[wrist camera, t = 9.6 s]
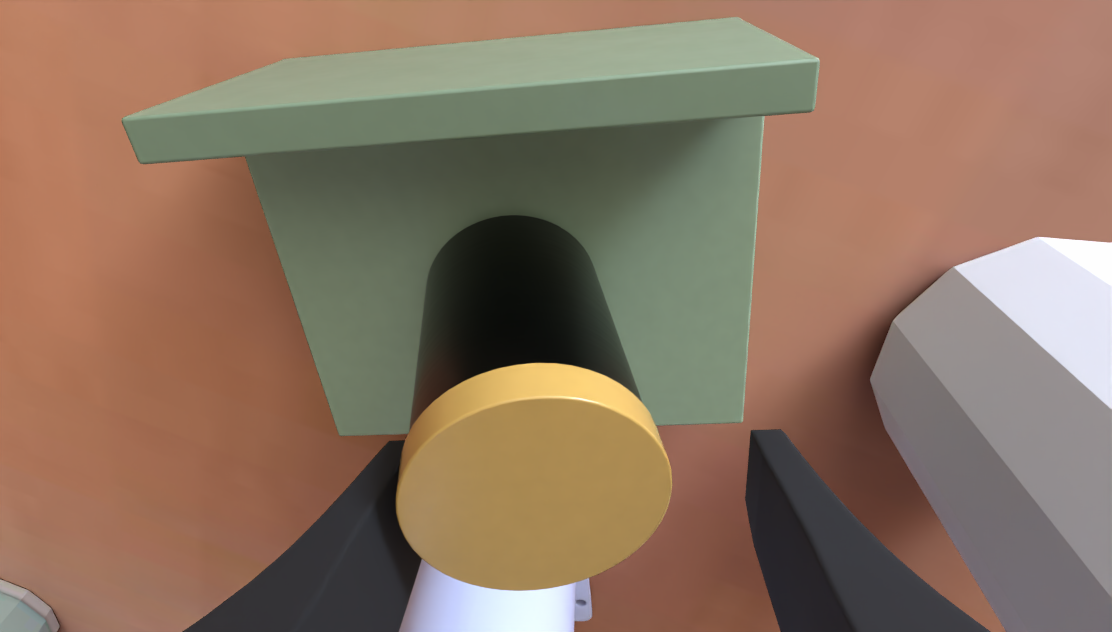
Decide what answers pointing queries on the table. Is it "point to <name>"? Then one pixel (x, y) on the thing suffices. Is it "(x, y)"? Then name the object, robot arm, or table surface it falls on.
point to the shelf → (510, 189)
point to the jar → (1014, 425)
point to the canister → (525, 417)
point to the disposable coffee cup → (24, 611)
